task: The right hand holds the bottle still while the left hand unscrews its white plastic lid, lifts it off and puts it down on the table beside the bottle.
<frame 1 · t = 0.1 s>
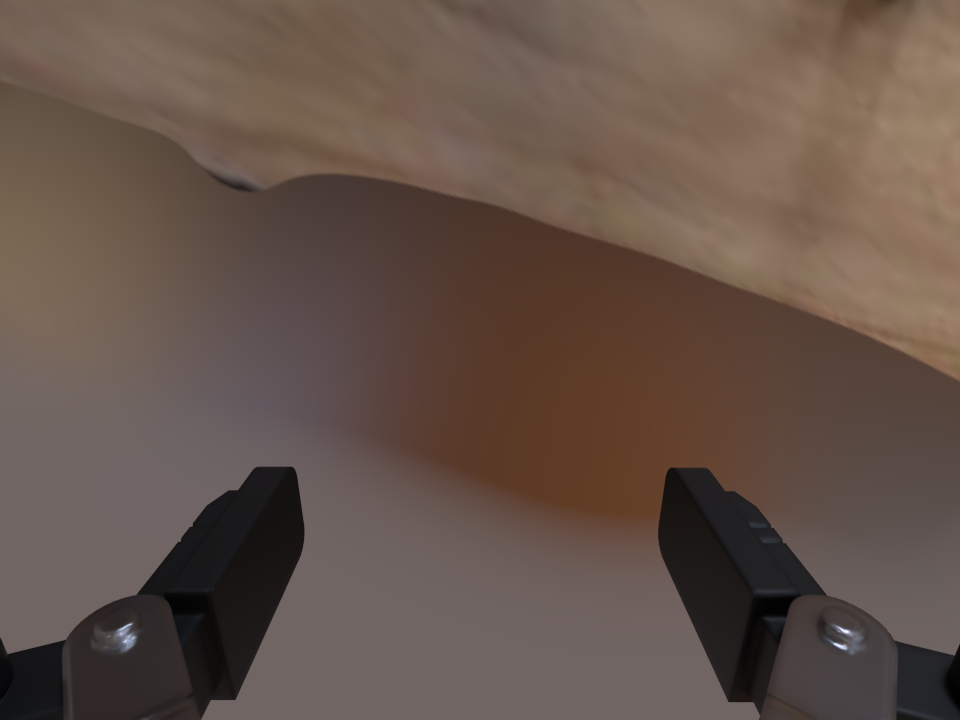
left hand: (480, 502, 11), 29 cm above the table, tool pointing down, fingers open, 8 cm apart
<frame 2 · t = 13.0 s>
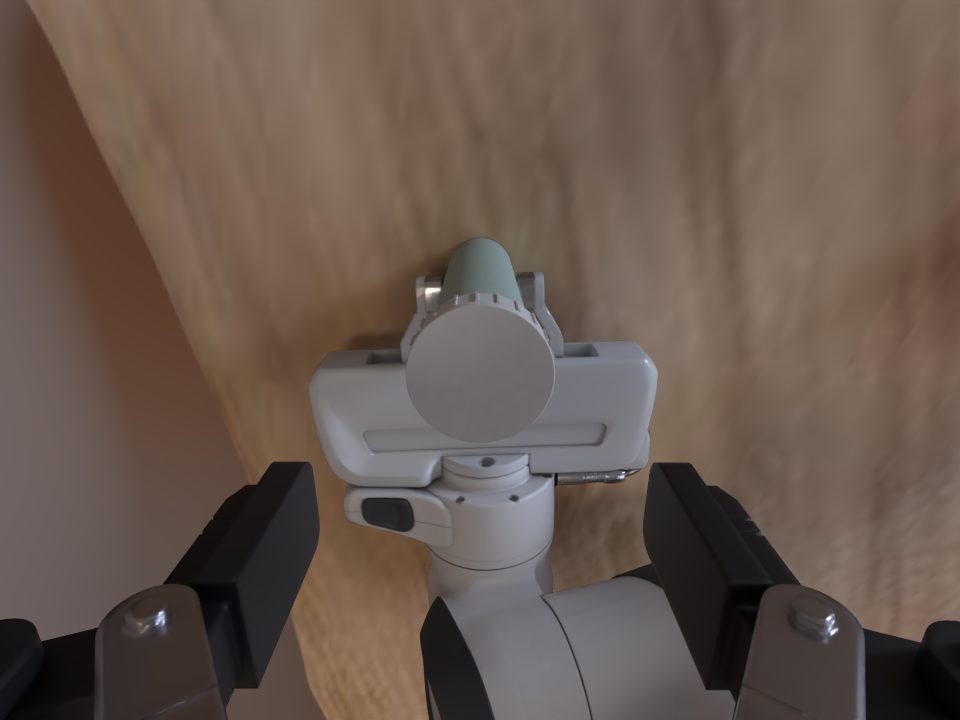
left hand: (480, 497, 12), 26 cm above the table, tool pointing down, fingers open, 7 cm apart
right hand: (478, 275, 30), fingers closed on bottle, 4 cm apart
bottle: (479, 269, 36), on the table, touching right hand
lid: (480, 373, 18), point 18 cm above the table, screwed on, not yet turned
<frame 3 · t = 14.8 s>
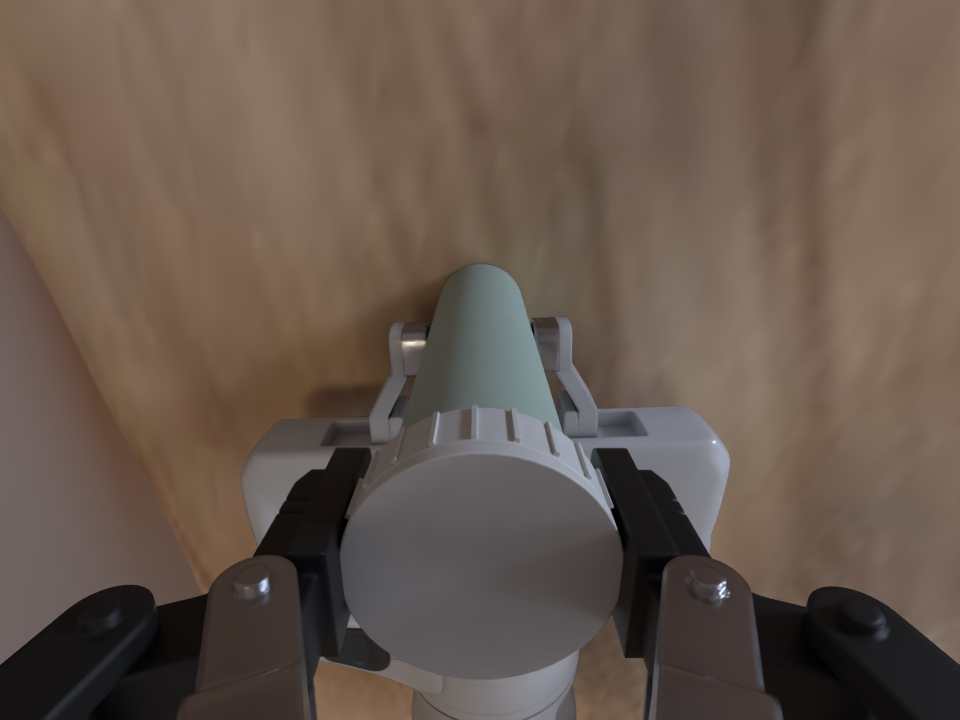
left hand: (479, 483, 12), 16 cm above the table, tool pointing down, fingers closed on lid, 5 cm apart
bottle: (480, 305, 27), on the table, touching right hand
lid: (481, 563, 10), point 18 cm above the table, screwed on, not yet turned, touching left hand
when the left hand's fingers open (16 cm above the table, at t = 16.7 s): lid stays where it is, point 19 cm above the table.
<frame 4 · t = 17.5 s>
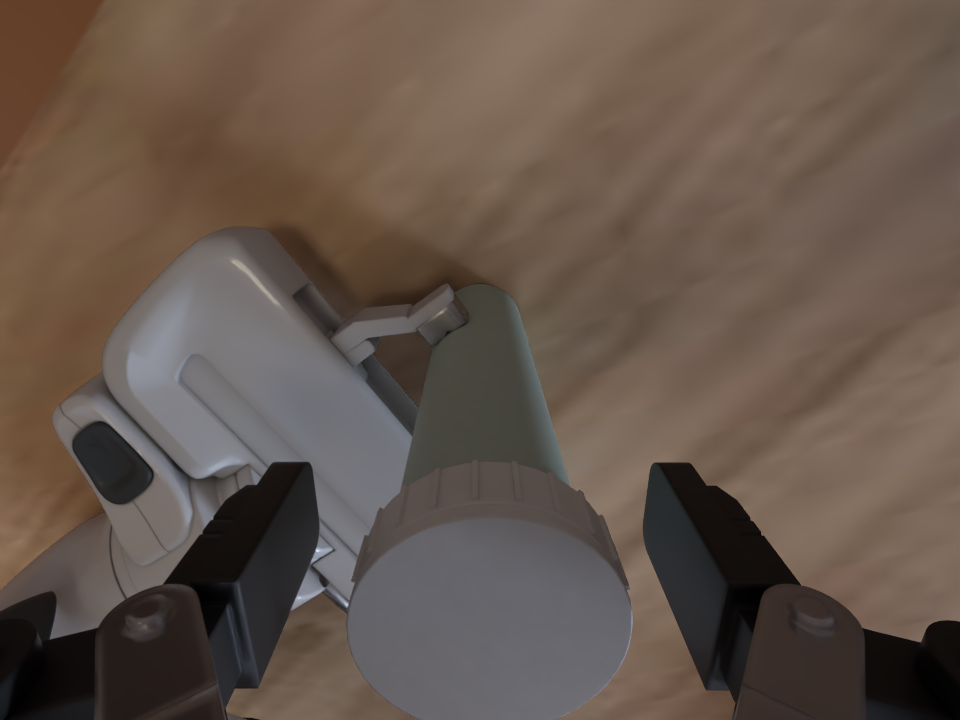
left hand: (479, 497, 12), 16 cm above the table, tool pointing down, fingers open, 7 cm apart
right hand: (498, 354, 21), fingers closed on bottle, 4 cm apart
bottle: (479, 323, 27), on the table, touching right hand
lid: (489, 619, 10), point 19 cm above the table, turned 108° so far, risen 0.4 cm, still on its thread
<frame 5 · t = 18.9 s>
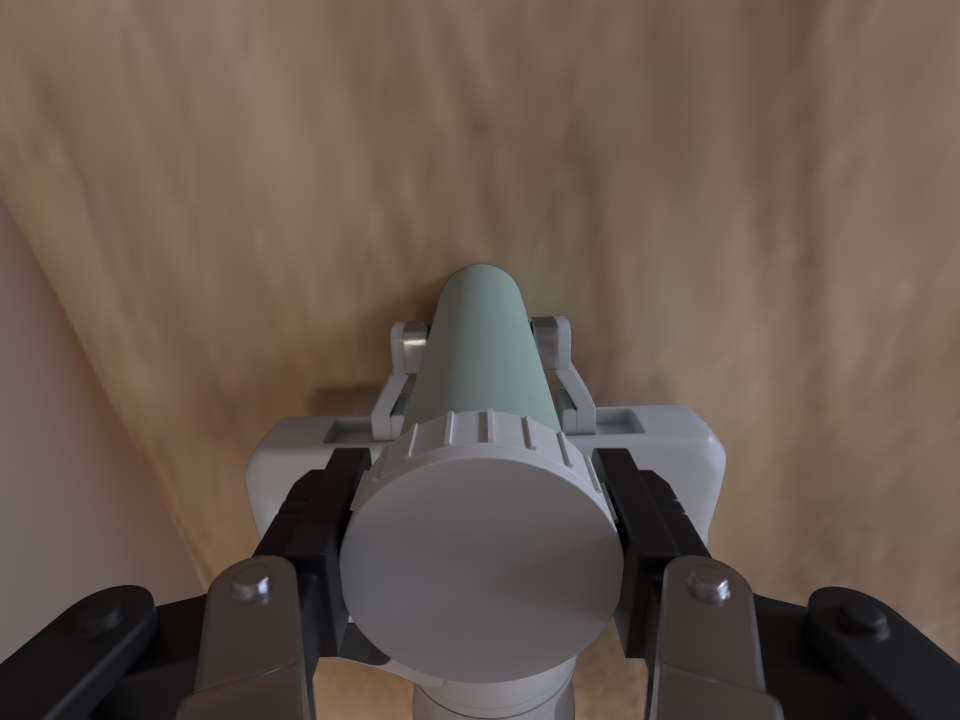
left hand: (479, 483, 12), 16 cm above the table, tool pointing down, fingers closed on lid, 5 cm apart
bottle: (480, 304, 27), on the table, touching right hand
lid: (481, 567, 10), point 19 cm above the table, turned 108° so far, risen 0.4 cm, still on its thread, touching left hand
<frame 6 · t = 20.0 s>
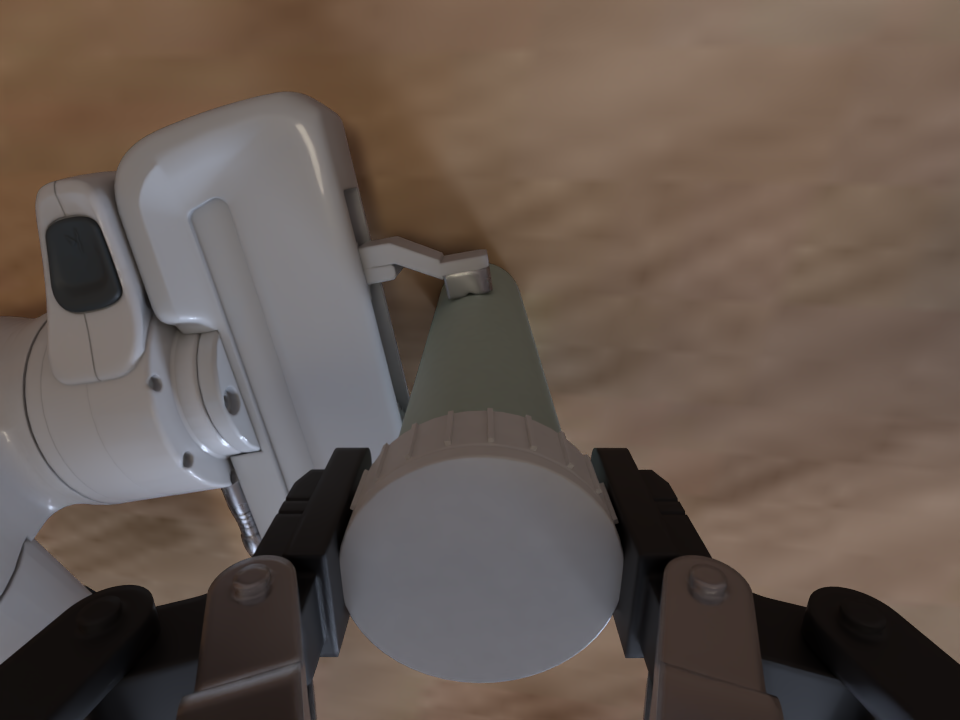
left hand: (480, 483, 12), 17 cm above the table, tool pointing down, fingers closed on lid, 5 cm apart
right hand: (501, 335, 22), fingers closed on bottle, 4 cm apart
bottle: (480, 302, 28), on the table, touching right hand
lid: (481, 566, 10), point 19 cm above the table, turned 190° so far, risen 0.7 cm, still on its thread, touching left hand
when the left hand's fingers open (0 cm above the table, at t = 27.3 s): lid drops 2 cm, point 1 cm above the table.
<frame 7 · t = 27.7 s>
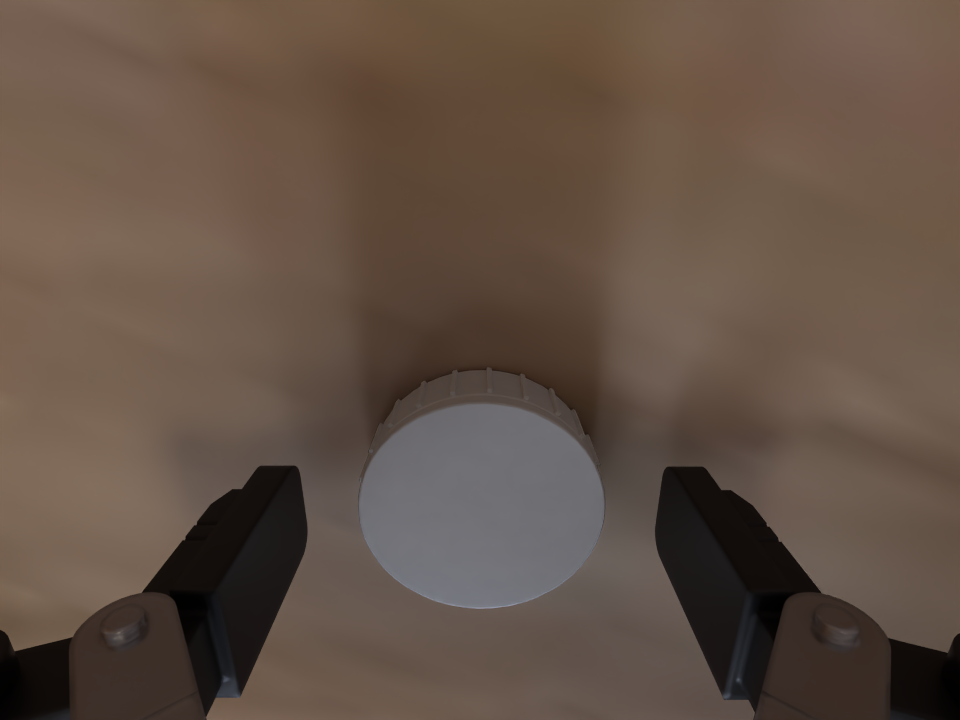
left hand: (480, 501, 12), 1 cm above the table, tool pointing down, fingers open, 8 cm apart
lid: (481, 504, 11), point 1 cm above the table, off its thread
when the right hand's fingers open (6 cm above the table, at t = 28.4 s): bottle stays where it is, on the table.
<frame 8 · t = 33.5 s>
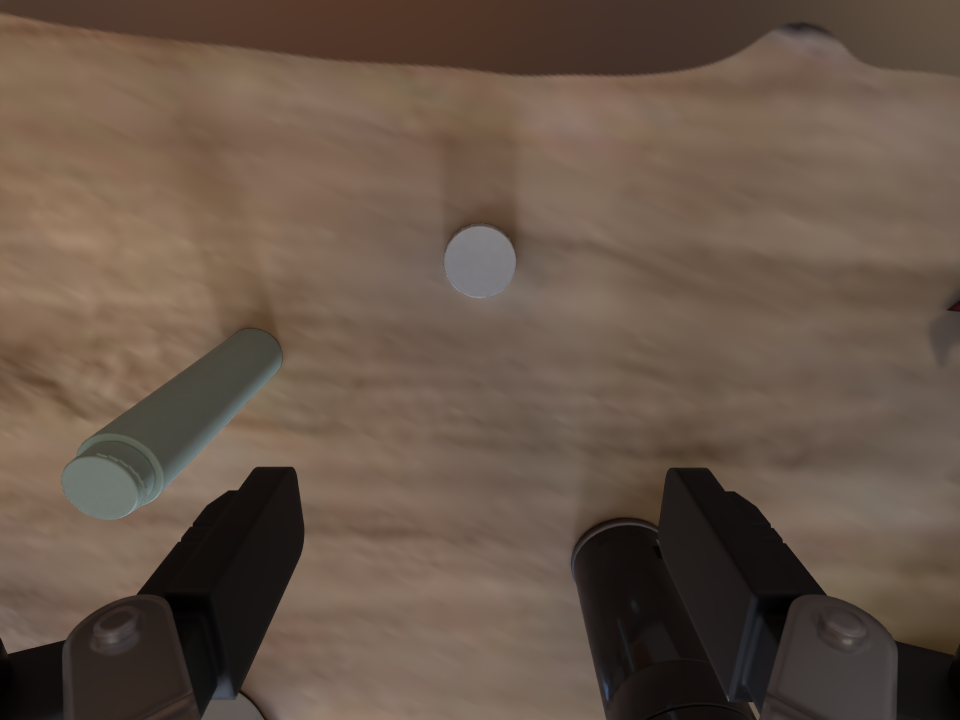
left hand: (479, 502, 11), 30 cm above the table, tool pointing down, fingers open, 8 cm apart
bottle: (255, 353, 42), on the table
lid: (480, 261, 38), point 1 cm above the table, off its thread
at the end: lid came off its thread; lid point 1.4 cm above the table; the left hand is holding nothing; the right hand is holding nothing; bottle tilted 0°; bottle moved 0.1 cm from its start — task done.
